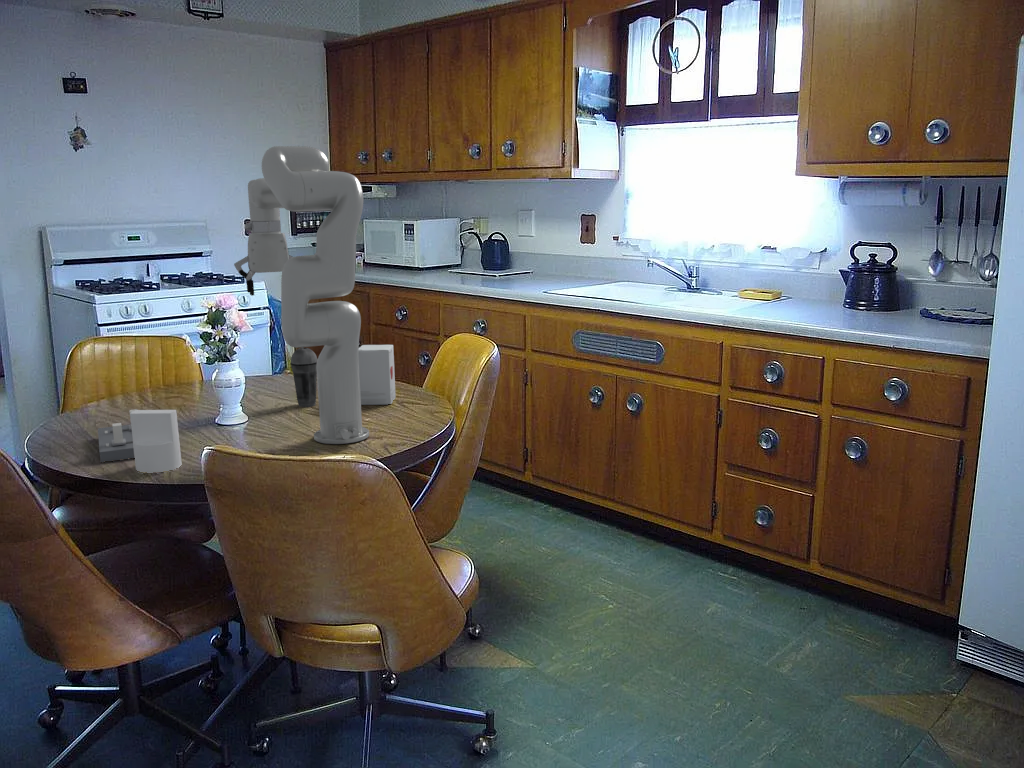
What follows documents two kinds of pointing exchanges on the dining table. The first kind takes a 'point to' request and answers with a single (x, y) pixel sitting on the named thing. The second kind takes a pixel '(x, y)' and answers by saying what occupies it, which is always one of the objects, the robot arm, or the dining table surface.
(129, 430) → the breaker
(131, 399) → the dining table surface
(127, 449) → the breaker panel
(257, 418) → the dining table surface
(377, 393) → the supplement box
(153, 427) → the grey upright block
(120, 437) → the block
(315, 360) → the beverage cup
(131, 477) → the dining table surface
